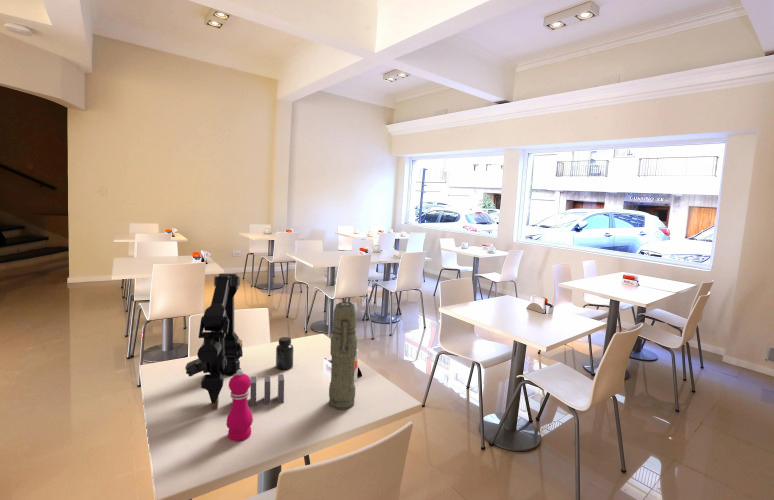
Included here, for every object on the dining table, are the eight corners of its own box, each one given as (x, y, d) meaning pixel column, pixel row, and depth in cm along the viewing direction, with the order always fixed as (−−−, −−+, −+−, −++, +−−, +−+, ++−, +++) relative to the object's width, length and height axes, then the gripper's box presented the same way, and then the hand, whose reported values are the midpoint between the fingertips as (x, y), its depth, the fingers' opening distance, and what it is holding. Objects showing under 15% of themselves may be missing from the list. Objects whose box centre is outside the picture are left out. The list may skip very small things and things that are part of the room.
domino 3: (264, 404, 137) (264, 381, 136) (264, 397, 142) (264, 375, 141) (270, 404, 138) (270, 381, 137) (269, 397, 143) (270, 375, 142)
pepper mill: (230, 428, 123) (230, 364, 120) (255, 428, 123) (255, 364, 121) (223, 442, 115) (222, 374, 113) (249, 442, 116) (249, 375, 114)
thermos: (351, 393, 148) (355, 299, 143) (357, 410, 136) (361, 308, 132) (327, 395, 145) (329, 299, 141) (330, 412, 134) (334, 308, 130)
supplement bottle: (285, 362, 173) (285, 334, 171) (296, 366, 169) (297, 338, 167) (272, 367, 167) (272, 339, 166) (283, 372, 163) (283, 343, 162)
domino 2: (250, 406, 136) (250, 383, 135) (250, 398, 141) (250, 376, 140) (256, 405, 137) (256, 382, 136) (256, 398, 141) (256, 376, 140)
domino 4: (278, 403, 139) (278, 380, 138) (277, 396, 143) (278, 374, 142) (283, 402, 139) (284, 380, 138) (283, 395, 144) (283, 374, 143)
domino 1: (211, 409, 132) (211, 386, 132) (212, 402, 137) (212, 379, 136) (217, 409, 133) (217, 385, 132) (218, 401, 138) (218, 379, 137)
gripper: (191, 342, 139) (192, 385, 141) (182, 363, 122) (183, 413, 123) (227, 340, 143) (227, 383, 144) (222, 361, 125) (222, 409, 127)
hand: (215, 396), depth 135 cm, fingers open, 9 cm apart
